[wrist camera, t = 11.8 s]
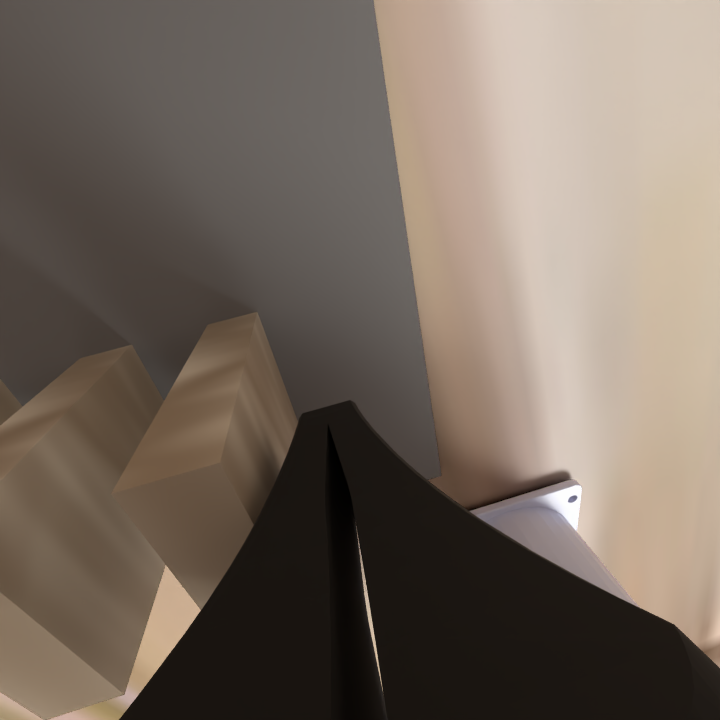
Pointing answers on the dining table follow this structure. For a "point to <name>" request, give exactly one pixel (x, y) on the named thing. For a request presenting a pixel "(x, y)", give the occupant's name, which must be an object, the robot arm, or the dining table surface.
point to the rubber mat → (208, 198)
